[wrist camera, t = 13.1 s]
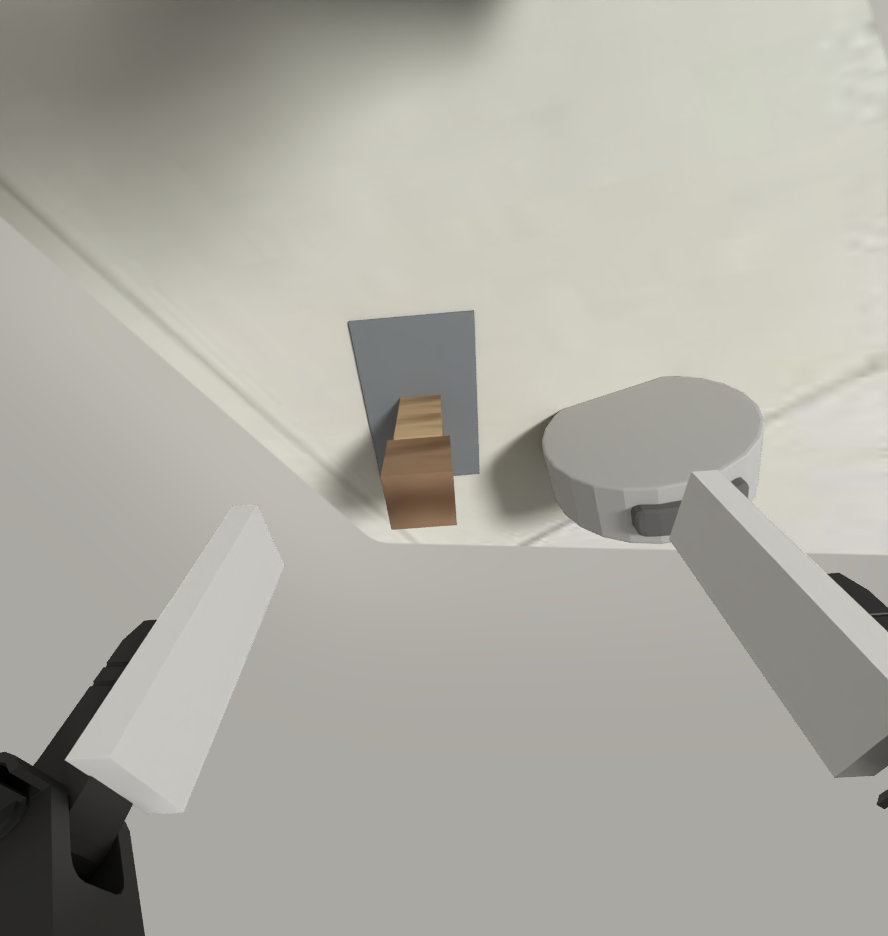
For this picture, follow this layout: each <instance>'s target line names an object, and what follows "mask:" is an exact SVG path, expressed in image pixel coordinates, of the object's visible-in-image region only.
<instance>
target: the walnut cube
mask: <svg viewBox="0 0 888 936" xmlns="http://www.w3.org/2000/svg"><path fill="white" fill-rule="evenodd" d="M381 481H382V486H383V491H384V496H385V500H386V505H387V510H388V515H389V520H390V524H391V529H392V530H394V529H408V528H421V527H435V526H449V525H457V522H456V507H455V493H454V479H453V467H452V455H451V442H450V436H437V437H425V438H412V439H400V440H388V441H387V446H386V451H385V456H384V462H383V467H382V472H381Z"/></svg>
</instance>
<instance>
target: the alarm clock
mask: <svg viewBox="0 0 888 936" xmlns="http://www.w3.org/2000/svg"><path fill="white" fill-rule="evenodd" d="M764 423H765V421H764V419H763V416H762V414H761V411H760V409H759V406H758V405H757V404H756V403H755V402H754V401H752V400H751V399H750V398H749V397H748V396H747V395H746V394H744V393H743V392H741V391H739V390H737V389H735V388H732V387H730V386H728V385H726V384H723V383H719V382H715V381H711V380H706V379H702V378H692V377H680V376H667V377H660V378H656V379H653V380H650V381H647V382H644V383H641V384H638V385H635V386H632V387H629V388H626V389H623V390H620V391H617V392H614V393H610V394H607V395H604V396H601V397H598V398H595V399H592V400H589V401H586V402H583V403H580V404H577V405H574V406H571V407H568V408H564V409H562V410H561V411H559V412H558V413H557V414H556V415H555V416H554V417H553V418H552V420H551V421H550V423H549V424H548V425H547V427H546V428H545V431H544V435H543V438H542V448H543V454H544V458H545V462H546V465H547V469H548V473H549V477H550V480H551V484H552V488H553V492H554V495H555V499H556V501H557V503H558V504H559V506H560V508H561V509H562V511H563V512H564V514H565V515H566V516H568V517H569V518H570V519H571V520H573V521H574V522H575V523H577V524H578V525H579V526H580V527H582V528H584V529H587V530H589V531H591V532H593V533H596V534H598V535H600V536H602V537H606V538H611V539H615V540H620V541H625V542H629V543H654V544H663V543H670V542H671V541H670V540H669V537H670V534H671V531H672V528H673V525H674V522H675V519H676V516H677V513H678V510H679V507H680V504H681V501H682V498H683V495H684V492H685V489H686V486H687V483H688V480H689V477H690V474H691V472H694V471H708V470H718V471H719V472H720V473H722V474H723V475H724V476H725V477H726V478H727V479H728V480H729V481H730V482H731V483H732V484H733V485H734V486H735V487H736V488H737V489H738V490H739V491H740V492H741V493H742V494H744V495H745V496H746V497H747V498H748V499H749V500H750V501H751V502H752V500H753V499H754V498H755V496H756V491H757V485H758V480H759V471H760V462H761V452H762V442H763V433H764Z"/></svg>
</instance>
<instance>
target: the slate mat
mask: <svg viewBox="0 0 888 936" xmlns="http://www.w3.org/2000/svg"><path fill="white" fill-rule="evenodd" d="M348 323H349V328H350V332H351V337H352V342H353V347H354V352H355V357H356V361H357V366H358V371H359V376H360V381H361V385H362V390H363V395H364V400H365V405H366V409H367V414H368V419H369V424H370V429H371V434H372V438H373V443H374V448H375V453H376V458H377V462H378V467H379V472H380V477H381V472H382V467H383V462H384V456H385V451H386V446H387V441H388V440H394V433H395V427H396V421H397V415H398V409H399V403H400V398H403V397H416V396H428V395H440V394H441V406H442V417H443V428H444V436H450V442H451V455H452V467H453V476H457V475H471V474H479V444H478V415H477V385H476V355H475V326H474V310H472V311H461V312H449V313H438V314H426V315H415V316H403V317H392V318H380V319H369V320H357V321H349V322H348Z"/></svg>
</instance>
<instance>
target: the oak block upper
mask: <svg viewBox="0 0 888 936" xmlns="http://www.w3.org/2000/svg"><path fill="white" fill-rule="evenodd" d="M437 436H443V428H442V417H441V412H440V413H427V414H415V415H402V416H397V421H396V427H395V433H394V440H400V439H412V438H425V437H437Z"/></svg>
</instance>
